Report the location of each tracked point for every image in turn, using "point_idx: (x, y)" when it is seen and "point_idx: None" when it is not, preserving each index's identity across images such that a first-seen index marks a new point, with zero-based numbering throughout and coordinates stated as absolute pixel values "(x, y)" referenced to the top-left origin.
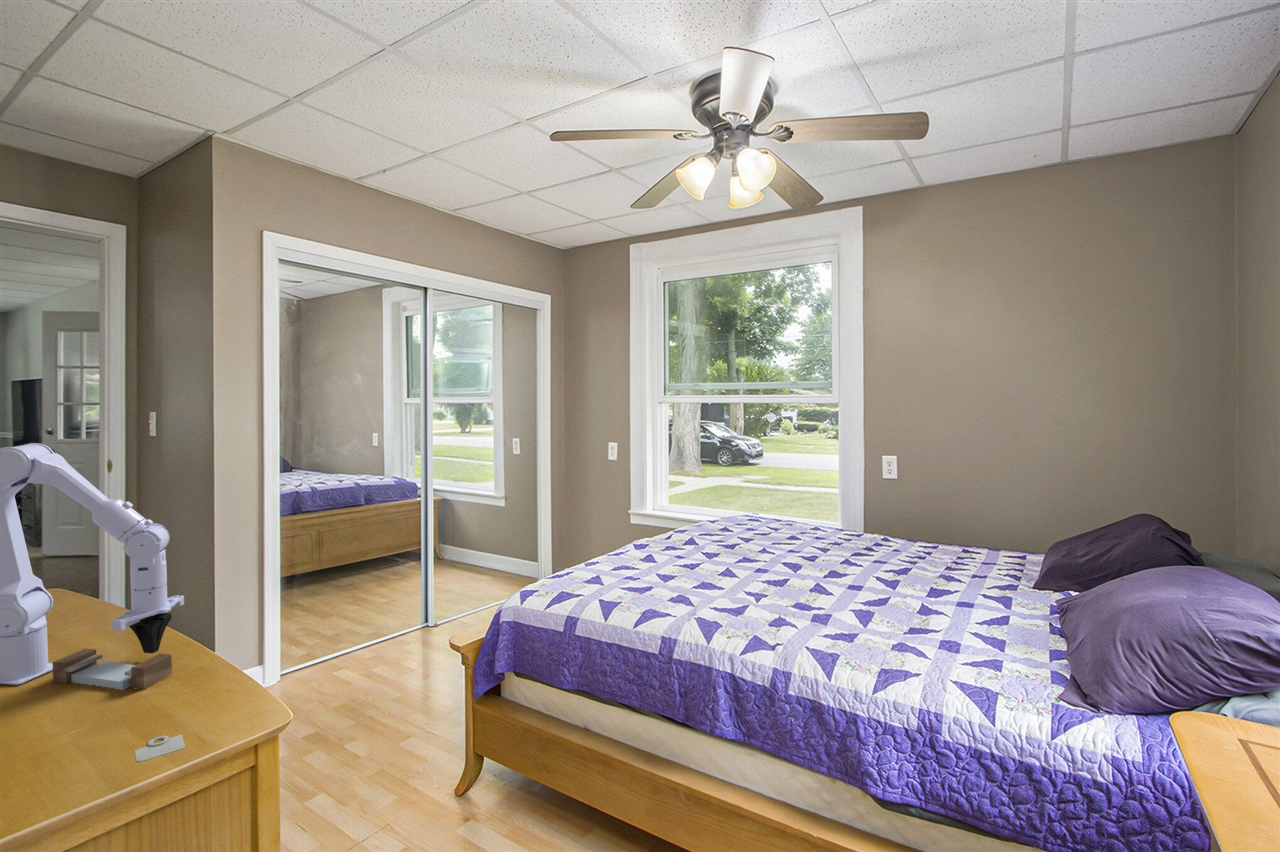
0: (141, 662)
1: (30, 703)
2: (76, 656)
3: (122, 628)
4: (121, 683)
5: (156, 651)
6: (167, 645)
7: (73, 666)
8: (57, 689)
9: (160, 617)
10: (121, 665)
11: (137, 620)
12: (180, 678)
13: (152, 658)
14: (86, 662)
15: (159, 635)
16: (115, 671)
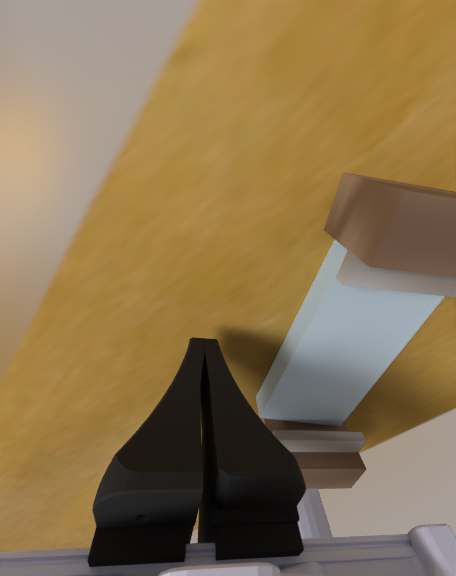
0: None
1: (427, 403)
2: (322, 473)
3: (449, 540)
4: None
5: (201, 338)
6: (79, 359)
7: (353, 444)
8: (366, 405)
9: (196, 506)
10: (302, 365)
11: (317, 558)
12: (399, 96)
13: (431, 259)
14: (324, 438)
15: (197, 385)
16: (350, 352)
